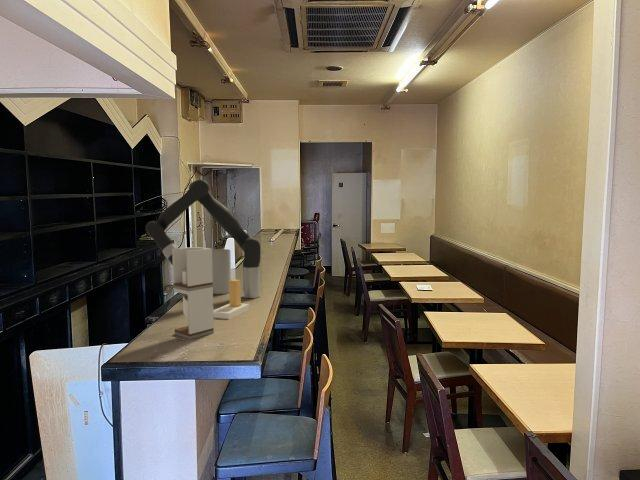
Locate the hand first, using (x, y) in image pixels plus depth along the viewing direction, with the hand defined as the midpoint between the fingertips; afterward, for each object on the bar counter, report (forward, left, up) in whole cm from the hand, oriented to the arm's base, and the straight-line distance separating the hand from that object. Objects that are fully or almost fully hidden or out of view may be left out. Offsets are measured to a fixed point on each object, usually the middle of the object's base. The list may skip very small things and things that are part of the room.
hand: (193, 279), depth 227 cm
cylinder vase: (-40, -9, -15) cm, 44 cm away
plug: (-2, +22, -15) cm, 26 cm away
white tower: (+36, +24, -15) cm, 46 cm away
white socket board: (+3, +22, -15) cm, 27 cm away
